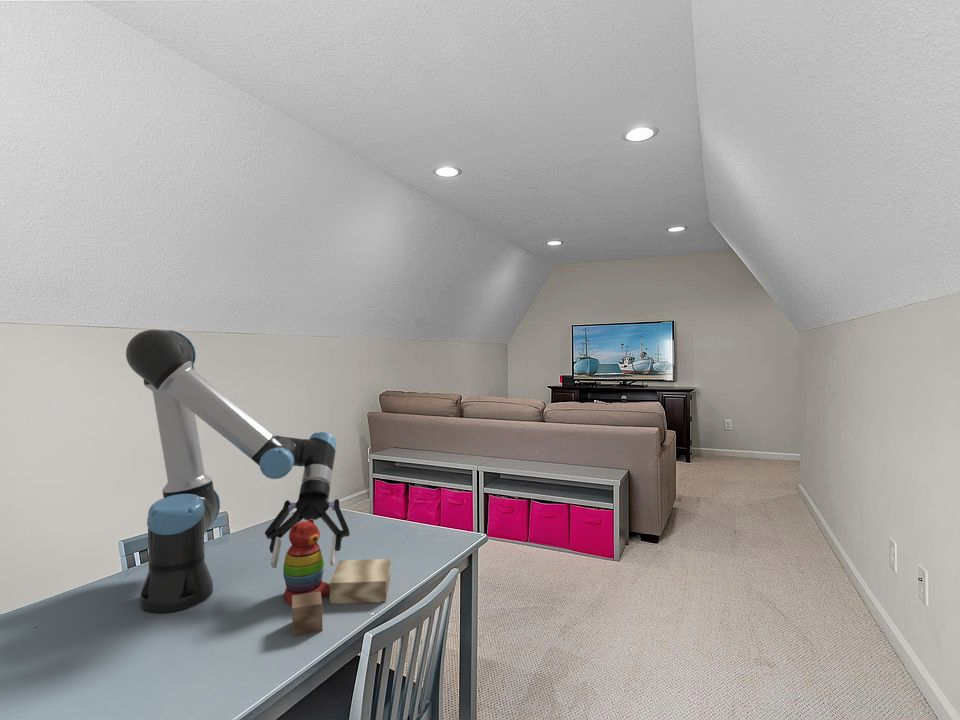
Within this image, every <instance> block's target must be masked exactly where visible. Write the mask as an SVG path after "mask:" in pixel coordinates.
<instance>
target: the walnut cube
mask: <svg viewBox="0 0 960 720" xmlns="http://www.w3.org/2000/svg"><path fill="white" fill-rule="evenodd" d="M322 598H323V597H321V591H319V592H312V593H306V594H299V595H293V596H292V606H291V620H292V623H291V625H292V626H291V627H292V629H291V631H292V637H297V636H304V635H308V634H313V633H314V634H315V633H321V632H323V599H322Z"/></svg>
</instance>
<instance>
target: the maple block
mask: <svg viewBox="0 0 960 720" xmlns="http://www.w3.org/2000/svg"><path fill="white" fill-rule="evenodd" d="M389 581H390V582H391V558H377V559H376V558H373V559H371V558H369V559H344V560H340V559H339V560H338V563H337V566H336V568H335V570H334V572H333V575H332V576H331V580H330V581H329V585H330V594H329V605H341V604H343V605H344V604H345V605H346V604H363V603H362V602H371V603H377V602H376V601H386V602H387V599H386V598H387V597H388V593H387V592H389V588H388V587H389V586H390V582H389Z"/></svg>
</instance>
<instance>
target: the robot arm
mask: <svg viewBox="0 0 960 720" xmlns="http://www.w3.org/2000/svg"><path fill="white" fill-rule="evenodd" d="M196 356H197V352H196V347H195V345H194V343H193V342H192V340H191V339H190V338H189V337H187V336H186V335H184V334H182V333H181V332H178V331H175V330H165V329H164V330H163V329H162V330H161V329H148V330H144V331H141V332H138V333H137V334H135V335H134V336H133V337H132V338H131V339H130V340H129V342H128V343H127V346H126V351H125V359H126V362H127V363H128V365H129V367H130V369H132V370H133V372H134V373H136V374H137V376H139V377H141V378H142V379H143V385H144V387H146V388H147V389H149V390H150V391H151V392H152V396H153V401H154V403H153V404H154V408H155V414H156V418H157V426H158V432H159V437H160V442H161V444H160V445H161V450H162V454H163V461H164V468H165V472H166V473H165V474H166V478H167V483H166V484H165V486H164V487H162V489H161V491H162V497H163V498H161V499H159V500H156V501H155V502H153V504H151V505H150V507H149V508H148V512H147V517H146V525H147V544H148V545H147V547H148V548H147V549H148V551H147V553H148V554H147V556H148V572H147V573H146V574H147V575H146V578H145V580H144V583H143V585H142V586H143V587H142V590H141V593H140V595H139V597H140V598H139V600H140V602H139V603H140V604H139V605H140V606H139V607H140V608H141V609H142V608H143V609H144V610H143V609H142V610H143V611H145V610H146V612H148V611H150V612H149V613H155V612H163V613H172V612H177V611H182V610H185V609H188V608H191V607H195V606H197V605H198V604H200V603H203V602H204V601H206V600H207V599H208V598H210V596H211V595H212V594H213V593H214V581H213V578H212V576H211V573H210V571H209V569H208V565H207V563H206V561H205V533H206V532H207V531H208V529H210V527H211V526H212V525H213V524H214V522H216V520H217V517H218V515H219V513H220V509H221V500H220V499H221V498H220V495H219V494H218V492H217V491H216V490H215V489H214V483H213V479H212V477H210V476H209V475H207V474H205V467H204V461H203V455H202V450H201V444H200V437H199V431H198V425H197V418H196V417H198V418H200V420H202V421H203V422H204V423H206V424H207V425H208V426H210V427H211V428H212V429H213V430H214V431H216V432H217V433H219V435H221V436H222V437H223V438H224V439H226V440H227V441H228V442H230V443H231V444H232V445H234V446H235V447H236V448H237V449H238V450H240V451H241V453H243V454H244V455H246V456H247V457H248V458H250V460H252V461H253V462H254V463H255V464H257V465H258V466H259V469H260V471H261V473H262V475H263V476H265V477H266V478H268V479H270V480H278V479H283V477H284V478H285V477H286V476H287V475H288V474H289V473H290V472H291V471H292V469H293V467H304V469H303V474H302V477H301V485H300V488H299V494H298V499H297V501H296V502H291V501H290V500H289V499H287V500H285V501H284V503H283V507H282V508H281V510H280V512H279V513H278V514H277V515H276V516H275V518H274V519H273V521H272V522H271V523H270V524H269V526H268V527H267V529H266V530H265V532H264V534H265V537H266V538H267V540H270V545H269V552H270V553H271V554H272V555H271V560H270V565H271V567H272V568H273V569H277V565H278V561H279V556H280V551H281V546H282V540H281V538H282V537H284V536H285V535H286V534H287V533H288V532H290V530H291V528H292V526H294V525H295V524H296V523H299V522H302V521H303V520H304V521H308V520H309V519H312V520H313V521H314V520H315V521H316V520H318V519H321V520H322V521H323V522H324V523H325V524H326V526H327V527H328V528H329V530H330V531H331V532H332V533H333V535H332V540H331V548H330V554H329V564H330V566H331V567H332V566H335V561H336V556H337V555H336V553H337V552H340V551H341V549H342V540H343V538H345V537H349V536H350V529H349V527H348V526H349V525H348V524H347V522H346V520H345V517H344V515H343V512H342V510H341V504H340V500H339V499H338V498H335V499H334V501H329V498H330V497H329V496H330V490H331V484H332V478H333V470H334V464H335V459H336V458H335V457H336V452H337V450H336V447H337V440H336V438H335V436H334V435H333V434H331V433H330V432H326V431H320V432H314V433H312V434H311V435H310V436H309V437H310V438H306V439H304V438H297V437H288V436H281V435H279V434H277V435H273V434H272V433H271V432H269V430H267V429H266V428H265V427H264V426H262V424H260V423H259V422H258V421H256V419H254V418H253V417H252V416H250V414H248V413H247V412H246V411H244V409H242V408H241V407H240V406H239V405H237V404H236V403H235V402H234V401H232V400H231V399H230V397H227V396H226V395H225V394H224V393H223V392H222V391H220V390H219V389H218V388H217V387H215V385H213V384H212V383H211V382H209V381H208V379H206V378H205V377H203V376H202V375H201V374H200V373H199V372H197V371H196V370H195V366H194V364H195V362H196V358H197V357H196ZM329 508H331V510H332V511H335V514H336V518H337V520H338V522H339V524H340V526H341V529H342V530H341V529H340V528H339V527H338V526H337V524H336V523H335V522H334V521H333V520H332V518H331V517H330V516H329V514H328V513H327V511H328V510H329ZM294 509H296V510H295V511H294V512H293V510H294ZM291 512H293V514H292V515H291V516H290V517H289V518H288V516H289V514H290V513H291ZM287 518H288V519H287ZM286 519H287V520H286ZM285 520H286V521H285ZM283 522H284V523H283ZM171 611H172V612H171Z"/></svg>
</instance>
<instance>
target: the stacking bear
mask: <svg viewBox="0 0 960 720" xmlns="http://www.w3.org/2000/svg"><path fill="white" fill-rule="evenodd" d="M320 535H321V533H320V530H319V528H318V527H317V525H316V524H315V521H314V520H313V519H309V520H304V521H303V520H302V521H300V522H297V523H296V524H295V525H294V526H292V528H291V529H290V530H289V533H288V537H289V542H290V544H291V546H290V547H289V548H288V550H287V551H286V554H285V557H284V562H283V569H282V571H283V573H282V574H283V579H284V582H285V587H286V588H285V590H284V595H283V597H284V601H285V602H286V603H287V604H288V605H289V606H291V607H292V596H293V595H299V594H306V593H312V592H319V591H321V598H323V597H327V596H330V583H328V582H326V581H324V580H323V575H324V567H325V562H324V561H325V560H324V557H323V554H322V551H321V550H322V549H321V547H320V545H319V544H318V542H319V539H320Z"/></svg>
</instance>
